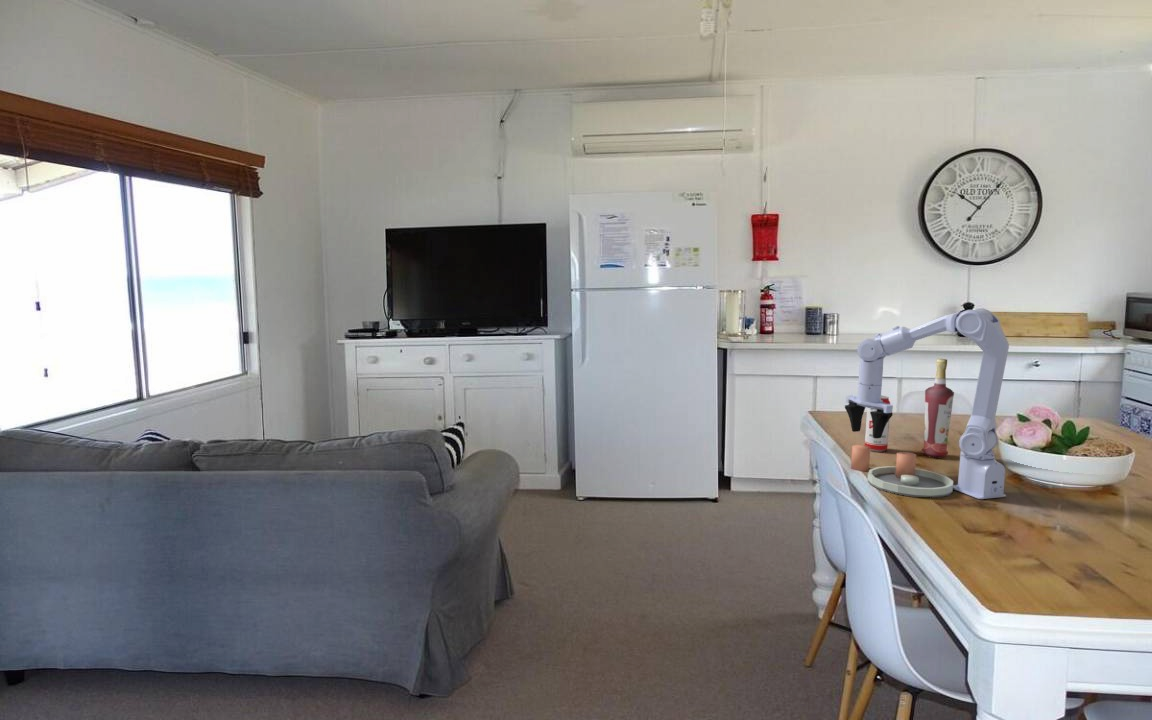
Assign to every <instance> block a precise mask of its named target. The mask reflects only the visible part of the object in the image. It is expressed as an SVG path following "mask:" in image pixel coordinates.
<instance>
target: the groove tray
mask: <svg viewBox="0 0 1152 720" xmlns="http://www.w3.org/2000/svg"><path fill="white" fill-rule="evenodd" d="M895 474H896V465H895V466H891V465H887V466H886V465H885V466H877V467H873V468H869V470H868V471H867V483H868V484H869V485H870V486H871V487H873V488H875V489H876V490H879V489H880V491H882V490H884V491H883V492H885V491H887V492H886V493H889V492H891V493H890V494H892V493H895V494H894V495H897V494H899V495H898V496H902V495H904V496H903V497H909V496H910V498H918V497H930V498H929V499H935V498H934V497H939V498H945V497H948V496H951V495H952V493H953V490H954V489H953V485H954V480H953V479H951V478H950V477H949V476H947V475H944V474H941V473H938V472H935V471H932V470H927V469H922V468H916V467H915V476H913V475H901V479H900V478H897V477H896V476H895ZM931 497H932V498H931Z"/></svg>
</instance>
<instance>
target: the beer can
mask: <svg viewBox="0 0 1152 720" xmlns="http://www.w3.org/2000/svg"><path fill="white" fill-rule="evenodd" d="M889 398H890V397H889V396H887V395H882V394H881V400H883V402H884V403H887V404H889V405H891V402H890V399H889ZM872 411H877V410H875V409H871V408H867V407H866V419H865V421H866V422H865V423H866V424H865V438H864V445H865V446H869V447H870V452H876V453H883V452H882V451H884V452H885V451H887V450H888V446H889V445H888V442H889V431H890V420H889V421H888V422H887V424H886V426H885V428H884V431H883V433H882V436H881V438H873V422H872V417H871V414H870V412H872Z"/></svg>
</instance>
